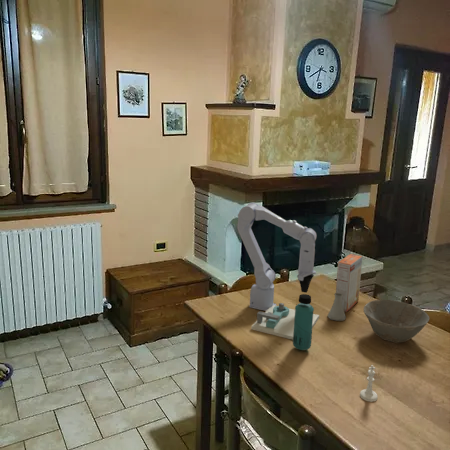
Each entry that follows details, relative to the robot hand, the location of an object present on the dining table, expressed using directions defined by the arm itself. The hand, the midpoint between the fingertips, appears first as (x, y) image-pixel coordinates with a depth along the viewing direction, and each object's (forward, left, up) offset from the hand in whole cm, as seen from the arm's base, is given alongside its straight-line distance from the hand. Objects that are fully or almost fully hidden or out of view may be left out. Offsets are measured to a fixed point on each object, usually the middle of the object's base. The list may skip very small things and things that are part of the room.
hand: (304, 291), depth 178 cm
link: (-7, -12, -8) cm, 16 cm away
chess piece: (+33, -44, -10) cm, 56 cm away
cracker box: (+14, +17, -10) cm, 24 cm away
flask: (+13, +3, -10) cm, 16 cm away
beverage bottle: (+8, -28, -10) cm, 31 cm away
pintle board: (-3, -12, -9) cm, 16 cm away
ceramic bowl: (+35, -3, -10) cm, 36 cm away
